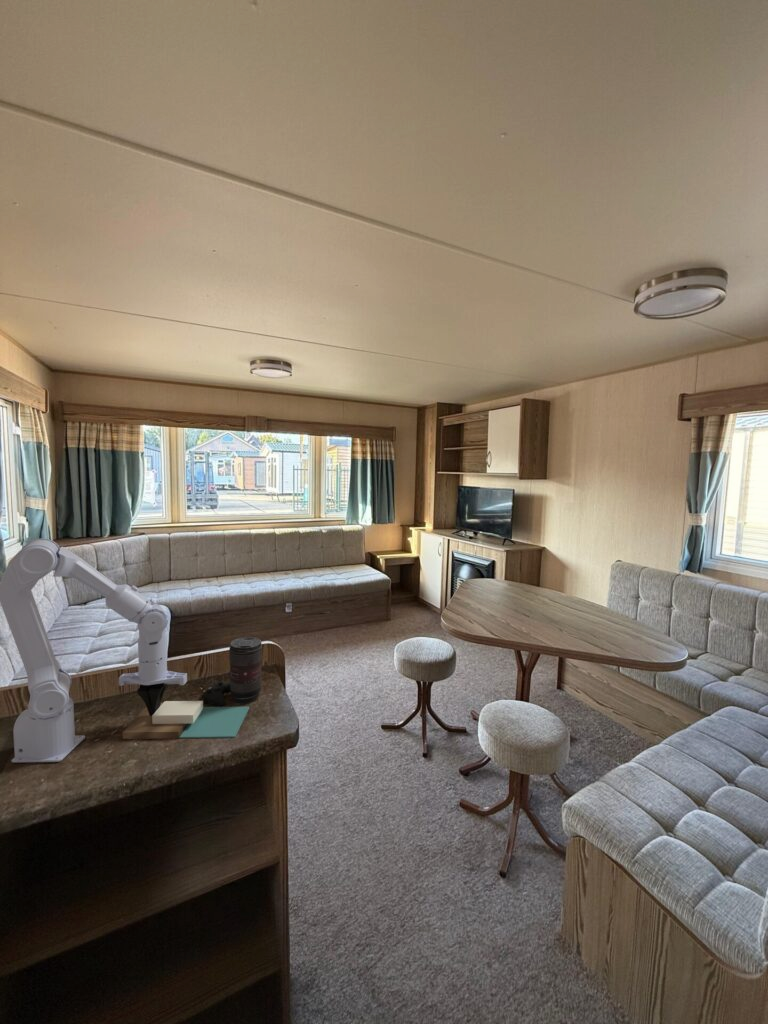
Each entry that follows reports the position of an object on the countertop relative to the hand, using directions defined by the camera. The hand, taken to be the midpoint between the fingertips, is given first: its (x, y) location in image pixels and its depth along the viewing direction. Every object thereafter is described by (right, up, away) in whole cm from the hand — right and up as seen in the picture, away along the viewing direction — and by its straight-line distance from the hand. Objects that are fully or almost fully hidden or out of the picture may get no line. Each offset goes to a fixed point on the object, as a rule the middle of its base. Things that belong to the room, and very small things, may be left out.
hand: (154, 713), depth 98 cm
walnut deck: (+2, -2, 0) cm, 3 cm away
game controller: (+10, -2, +12) cm, 16 cm away
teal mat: (+14, -3, +1) cm, 14 cm away
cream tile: (+6, 0, 0) cm, 6 cm away
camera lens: (+17, -2, +12) cm, 21 cm away
